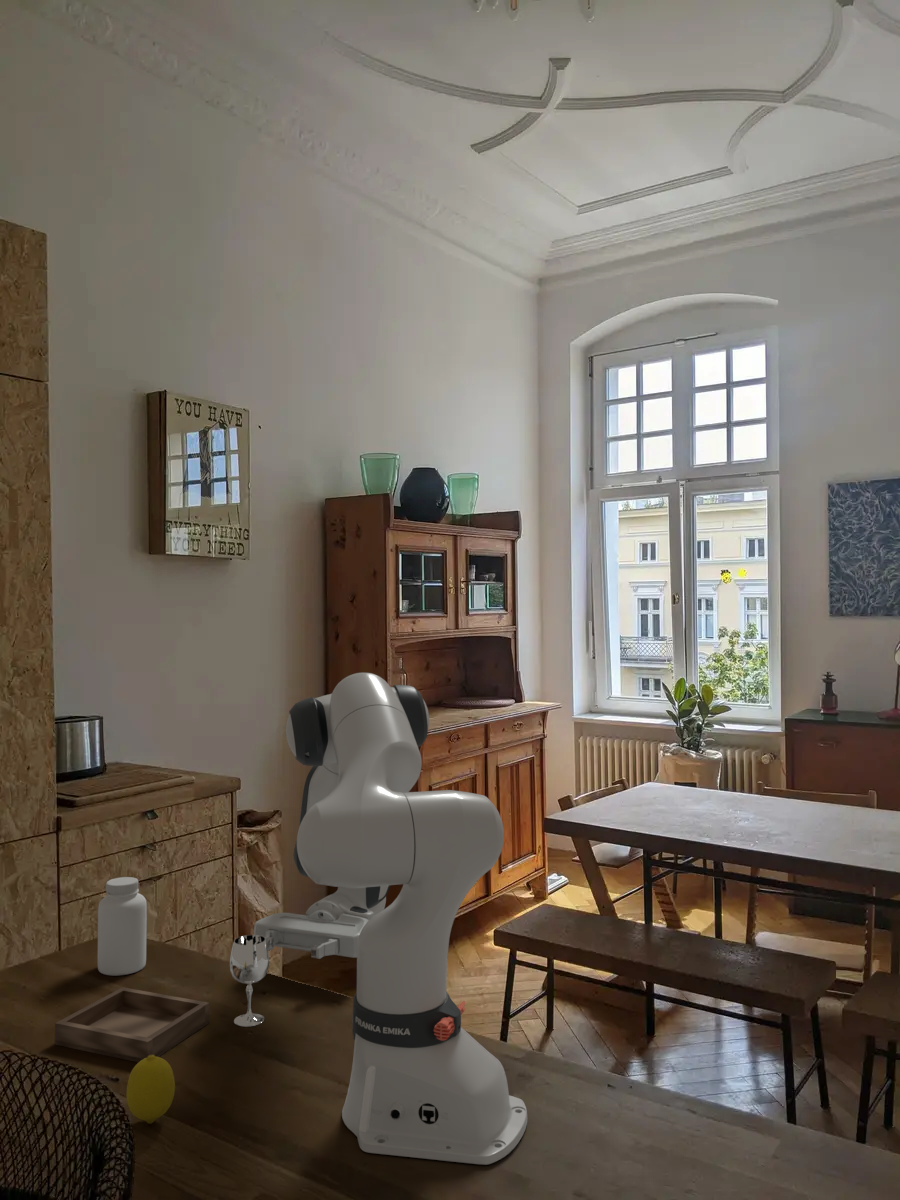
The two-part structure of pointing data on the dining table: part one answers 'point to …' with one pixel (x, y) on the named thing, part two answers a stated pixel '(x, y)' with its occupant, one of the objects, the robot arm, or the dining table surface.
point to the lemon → (150, 1088)
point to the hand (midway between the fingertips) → (289, 949)
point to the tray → (132, 1024)
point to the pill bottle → (122, 928)
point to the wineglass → (249, 970)
